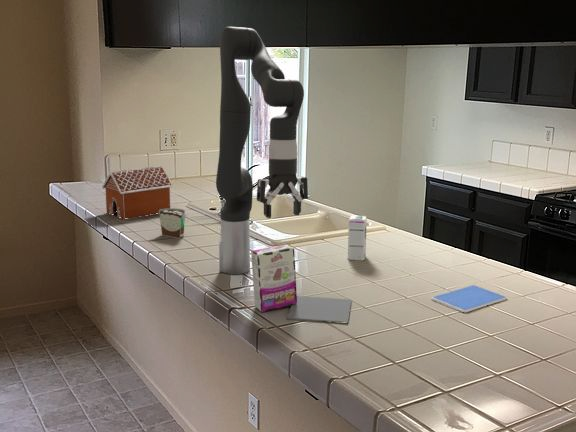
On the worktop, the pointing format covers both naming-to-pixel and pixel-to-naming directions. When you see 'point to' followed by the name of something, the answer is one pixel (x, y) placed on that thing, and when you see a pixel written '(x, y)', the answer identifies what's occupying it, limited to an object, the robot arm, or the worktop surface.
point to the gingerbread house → (137, 191)
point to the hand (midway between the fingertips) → (282, 216)
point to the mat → (320, 309)
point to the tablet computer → (468, 298)
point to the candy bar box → (274, 277)
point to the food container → (172, 222)
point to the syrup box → (357, 237)
